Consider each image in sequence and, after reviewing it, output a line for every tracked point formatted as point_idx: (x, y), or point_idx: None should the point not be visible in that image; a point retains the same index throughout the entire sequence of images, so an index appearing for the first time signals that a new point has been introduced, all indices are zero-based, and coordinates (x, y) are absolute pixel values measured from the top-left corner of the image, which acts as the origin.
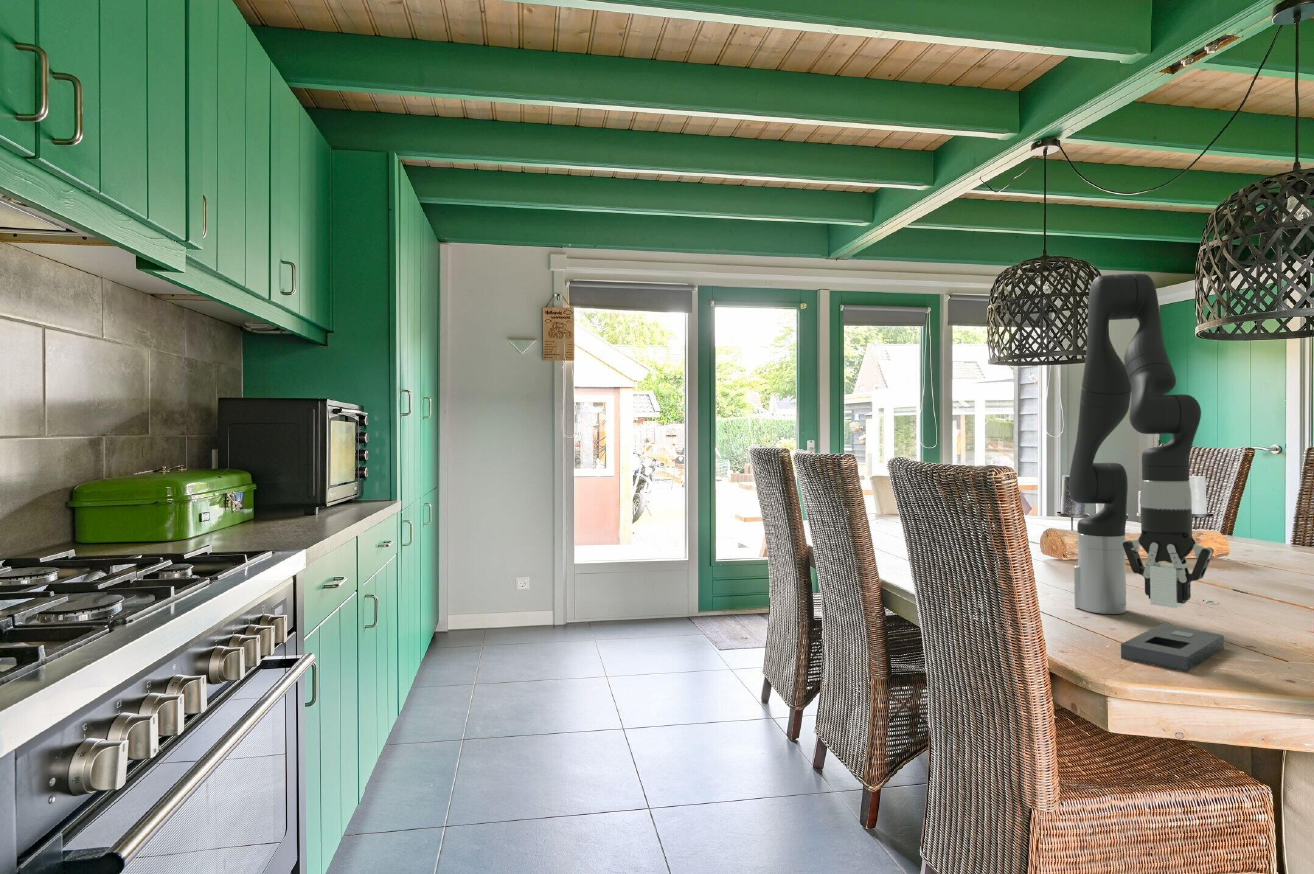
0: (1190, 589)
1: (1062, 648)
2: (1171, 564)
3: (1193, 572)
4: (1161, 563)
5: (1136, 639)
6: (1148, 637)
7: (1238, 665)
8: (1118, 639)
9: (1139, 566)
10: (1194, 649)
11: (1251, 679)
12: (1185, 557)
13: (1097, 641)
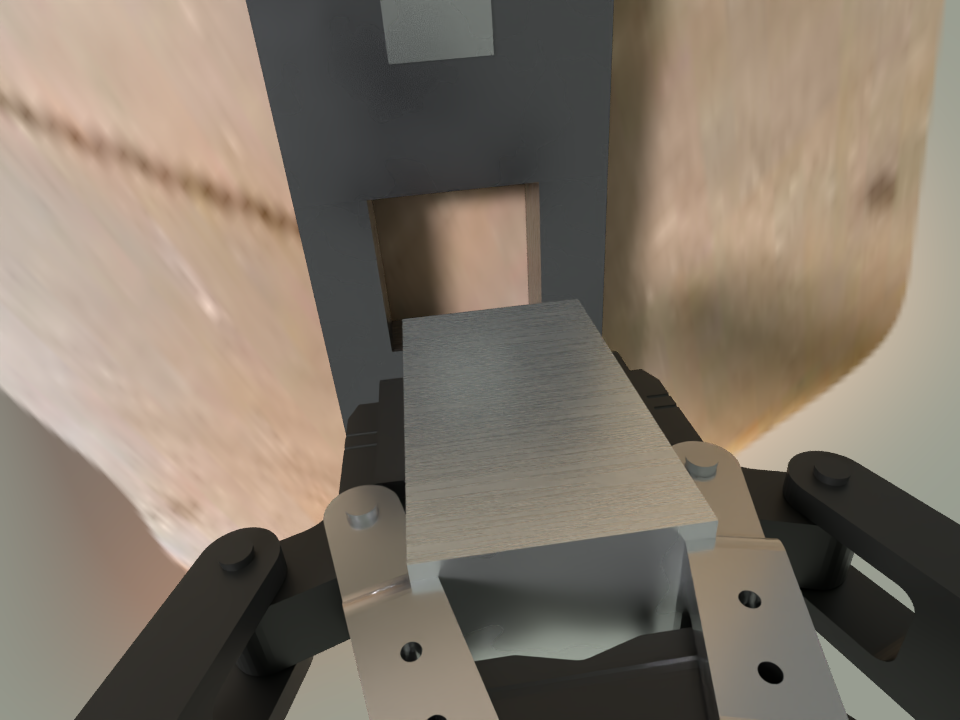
0: (683, 414)
1: (147, 478)
2: (576, 547)
3: (818, 621)
4: (455, 566)
5: (344, 334)
6: (358, 253)
7: (708, 126)
8: (140, 132)
9: (270, 648)
10: (587, 285)
11: (765, 290)
12: (814, 650)
13: (123, 266)
